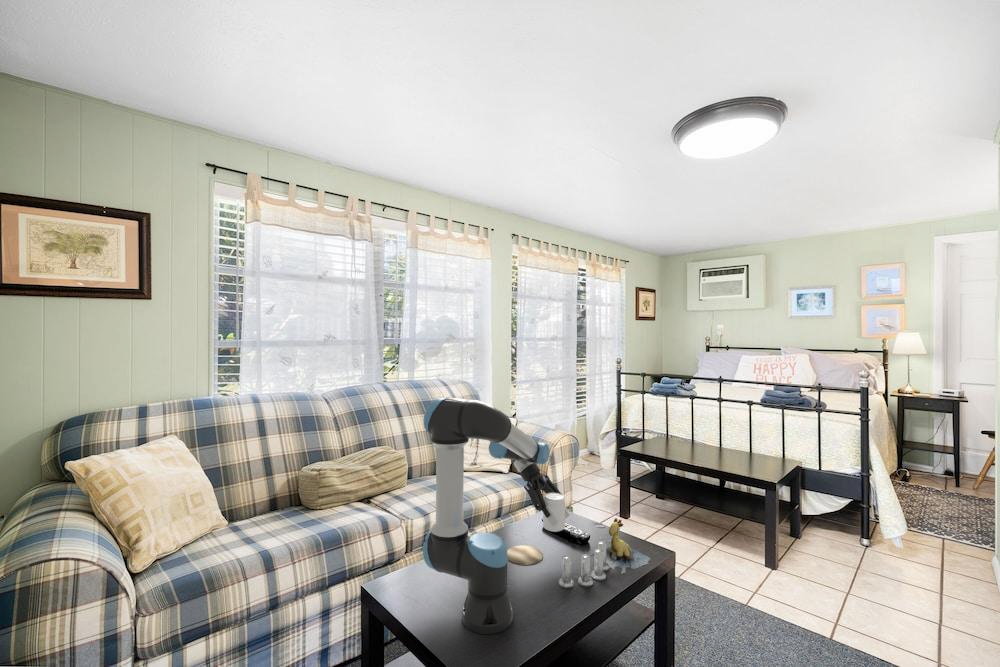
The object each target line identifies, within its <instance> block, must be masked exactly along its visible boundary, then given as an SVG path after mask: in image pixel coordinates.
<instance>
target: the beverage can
mask: <svg viewBox="0 0 1000 667" xmlns="http://www.w3.org/2000/svg"><path fill="white" fill-rule="evenodd" d="M543 499H544V502H545V505H546V507H547V506H548V507H549V509H550V510H551V511H552V513H553V515H554V516H555V518H556V519H557V521H558V523H556V524H555V525H554V526H552V525H551V523H550V521H549V520H548V518H547V517H546V516H545V515H544V513H543V512H542V515H543V516H542V527H543V529H545V530H547V531H548V532H554V533H557V532H561V531H563V530H564V529H565V528H566V519H565V507H566V499H565V496H564V495H563V494H562V493H561V494H559V493H545V494H544V497H543Z"/></svg>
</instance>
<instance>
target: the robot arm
mask: <svg viewBox="0 0 1000 667" xmlns="http://www.w3.org/2000/svg"><path fill="white" fill-rule="evenodd" d="M423 428H424V429H425V431H426V433H428V434H430V435H431V441H430V442H431V444H433V445H434V446H435V449H436V450H435V453H436V454H435V455H436V456H435V457H436V458H435V460H436V462H435V464H436V465H435V468H436V470H435V522H434V523H433V524H432V526H431V527H430V530H429V531H428V533H427V534H426V535H425V538H424V540H425V541H424V542H423V544H422V557H423V560H424V562H425V564H426V566H427V567H428V568H430V569H432V570H434V571H436V572H438V573H442V574H443V573H444V574H446V575H447V574H448V575H449V576H454V577H457V578H460V579H464V580H467V583H468V584H467V585H468V586H467V587H468V588H467V594H466V597H465V600H464V604H463V607H462V612H461V621H462V624H463V625H464V627H465V628H466V629H468V630H469V631H471V632H473V633H475V634H481V635H494V634H497V633H501V632H503V631H505V630H507V629H508V628H509V627H510V626H511V624H512V623H513V618H514V617H513V615H514V614H513V613H514V612H513V610H514V609H513V607H512V604H511V602H510V597H509V593H508V561H509V560H508V555H507V550H508V547H507V543H506V542H505V540H503V538H501V537H500V536H499V535H497V534H494V533H491V532H481V531H480V532H476V533H473V534H471V536H470V535H469V526H468V524H466V522H465V521H464V474H465V473H464V464H465V463H464V461H465V460H464V459H465V458H464V457H465V454H464V453H465V452H464V450H465V446H466V445H467V444H468V442H469V440H470V439H472V440H473V439H474V440H481V441H483V440H484V441H488V442H489V445H488V453H489V454H490V456H491V457H492V458H494V459H499V460H501V459H506V460H510V461H511V463H512V464H513V465H514V467H515V469H516V470H517V472H518V473H519V475H520V477H521V478H522V480H523V481H524V482H526V484H525V485H523V488H524V489H525V491H526V492H527V495H528V496H529V498H530V501H531V502H532V504H533V506H534V508H535V510H536V511H538V512H542V514H543V513H544V515H545V516H546V517H547V518H548V520H549V521H550V523H551V525H552V526H554V525H555V524H556V523H558V521H557V519H556V518H555V516H554V515H553V513H552V511H551V510H550V509H549V507H548V506H547V507H546V505H545V502H544V497H543V493H542V492H544V493H545V494H547V493H559V494H562V492H561V491H560V490H559V489H558V488H557V486H556V485H555V484H554V483H553V481H552V480H551V479H550V476H549V475H548V474H546V475H544V476H543V475H542V474H541V473H540V472H541V469H540V467H539V466H538V464H539V465H545V464H547V462H548V461H549V457H550V446H549V444H548V443H544V442H542V441H541V442H538V441H536V440H534V439H533V438H531V436H528V434H526V433H525V432H524V431H522V430H521V429H520V428H519V427H517V426H516V425H514V424H513V423H512V421H511V419H510V417H509V416H508V415H507V414H505V413H504V412H503V411H502V410H500V409H498V408H496V407H495V406H493V405H492V404H489V403H487V402H485V401H482V400H479V399H478V400H477V399H467V398H465V399H464V398H456V397H450V396H449V397H437V398H434V399H433V400H432V401H431V402H430V403H429V404H428V406H427V408H426V409H425V413H424V416H423ZM570 515H571V513H570V511H568V508H567V507H566V506H565V520H566V519H567V518H568V517H570Z"/></svg>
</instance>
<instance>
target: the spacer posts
mask: <svg viewBox="0 0 1000 667" xmlns="http://www.w3.org/2000/svg"><path fill="white" fill-rule="evenodd" d="M606 548H607V542H606V541H604V540H599V541H597V548H595V549H594V550H593V551H594V552H593V554H594V559H593V561H594V562H593V563H594V564H593V565H594V567H593V570H592V571H591V555H589V554H586V553H585V554H582V555H581V556H580V557H581V558H580V559H581V560H580V565H581V567H580V569H581V570H580V576H579V577H578V578H577V583H578V585H580V586H581V587H584V588H589V587H590V588H591V587H592V586H593V585H594V580H595V581H604V580H606V578H607V574H606V571H609V570H610V567H609V564H608V563H606ZM558 585H559V586H560V587H561V588H564V589H572V588H573V587H575V586H574V585H575V580H573V579H572V557H571V556H569V555H562V556H561V578H559V579H558Z"/></svg>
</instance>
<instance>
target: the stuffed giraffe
mask: <svg viewBox="0 0 1000 667" xmlns="http://www.w3.org/2000/svg"><path fill="white" fill-rule="evenodd" d="M622 521H623V520H622V519H621V518H620V519H618V518H617V517H616V518H614V520H613V522H612V523H611V524H610V526H609V528H608V534H609V536H610V537H612V538H611V541H610V544H611V545H610V547H606V563H608V564H609V569H613V570H615V568H616V567H618V568H620V569H621V571H620V573H621V575H623V574H625V573H626V569H627V568H630V569H632V570H636V569H638V568H640V567H643V566H646V565H649V563H650V562H649V561H652V560H651V558H650V557H649V556H648V555H646V554H644V553H642V552H640V551H638V550H636V549H634V548H632V547H630V545H629V544H628V543H627V542H625V541H624V540H622V539H620V530H621V528H622V527H623V526H624V523H622ZM631 552H634V553H632V556H633V560H629V558H630V553H631ZM590 557H594V553H592V554H590ZM610 559H612V560H610ZM624 560H625V561H624ZM628 560H629V561H628Z"/></svg>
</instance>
